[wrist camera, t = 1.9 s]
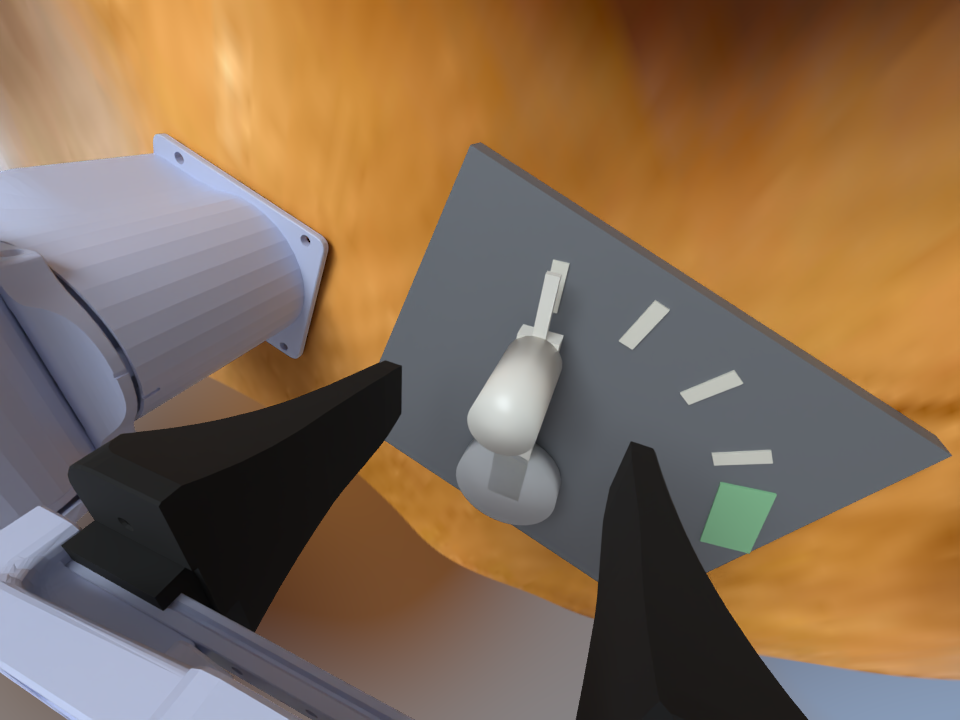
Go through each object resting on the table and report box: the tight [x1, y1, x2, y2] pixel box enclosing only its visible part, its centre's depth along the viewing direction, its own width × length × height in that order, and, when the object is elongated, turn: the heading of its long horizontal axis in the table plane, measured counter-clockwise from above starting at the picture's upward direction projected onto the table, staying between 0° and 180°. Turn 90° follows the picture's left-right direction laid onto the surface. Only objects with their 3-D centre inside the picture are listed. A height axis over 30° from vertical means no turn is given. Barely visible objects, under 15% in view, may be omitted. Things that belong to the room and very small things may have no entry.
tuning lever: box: [456, 271, 564, 525], centre depth 16 cm, size 14×5×5 cm, turn 173°
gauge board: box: [379, 142, 952, 582], centre depth 19 cm, size 19×16×1 cm
